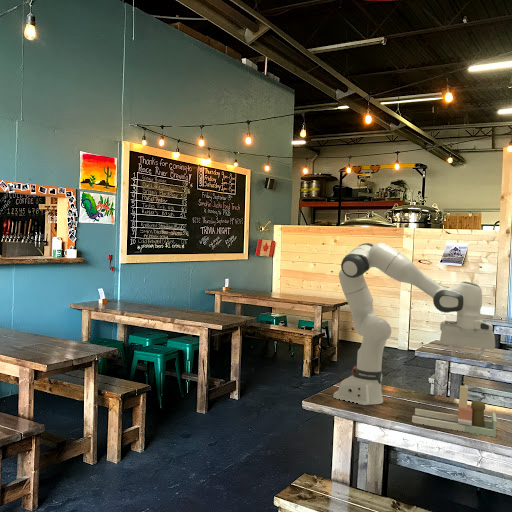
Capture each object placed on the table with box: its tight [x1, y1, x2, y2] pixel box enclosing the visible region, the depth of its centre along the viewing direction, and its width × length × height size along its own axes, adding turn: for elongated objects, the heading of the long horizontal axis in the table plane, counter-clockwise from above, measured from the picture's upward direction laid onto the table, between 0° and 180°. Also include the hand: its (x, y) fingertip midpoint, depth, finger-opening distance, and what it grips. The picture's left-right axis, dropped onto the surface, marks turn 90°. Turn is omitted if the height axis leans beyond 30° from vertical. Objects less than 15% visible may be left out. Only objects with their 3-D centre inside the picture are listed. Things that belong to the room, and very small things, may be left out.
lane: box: [411, 407, 498, 438], centre depth 201 cm, size 30×12×6 cm, turn 67°
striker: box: [457, 385, 472, 426], centre depth 199 cm, size 5×13×16 cm, turn 157°
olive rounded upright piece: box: [470, 400, 487, 428], centre depth 197 cm, size 6×6×11 cm
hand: (466, 357), depth 199 cm, fingers open, 8 cm apart
